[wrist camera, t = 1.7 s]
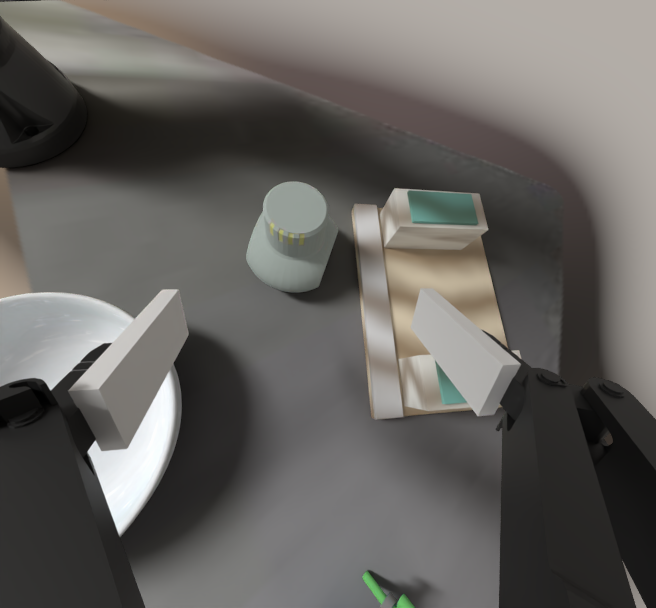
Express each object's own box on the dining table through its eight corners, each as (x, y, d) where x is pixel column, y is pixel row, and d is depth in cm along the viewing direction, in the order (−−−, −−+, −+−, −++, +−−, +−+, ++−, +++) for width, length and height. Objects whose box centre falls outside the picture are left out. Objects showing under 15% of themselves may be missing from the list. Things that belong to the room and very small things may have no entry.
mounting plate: (351, 211, 36) (365, 176, 30) (470, 216, 39) (504, 186, 33) (371, 417, 29) (394, 427, 23) (514, 404, 32) (569, 410, 25)
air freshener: (311, 308, 31) (322, 276, 22) (243, 285, 31) (225, 241, 21) (337, 233, 34) (357, 177, 25) (277, 211, 34) (274, 145, 24)
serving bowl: (206, 517, 24) (177, 569, 17) (-86, 592, 20) (-266, 694, 13) (198, 301, 29) (173, 278, 23) (-35, 325, 25) (-146, 306, 19)
